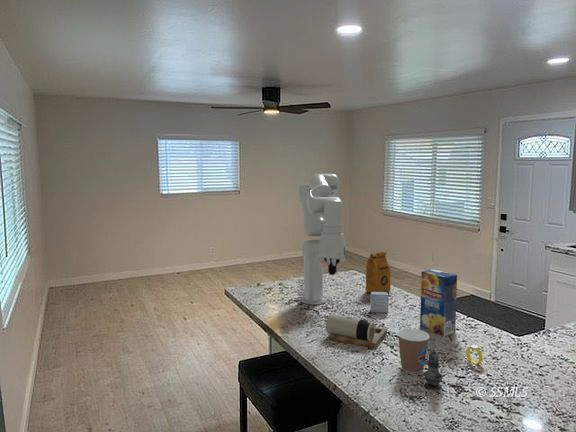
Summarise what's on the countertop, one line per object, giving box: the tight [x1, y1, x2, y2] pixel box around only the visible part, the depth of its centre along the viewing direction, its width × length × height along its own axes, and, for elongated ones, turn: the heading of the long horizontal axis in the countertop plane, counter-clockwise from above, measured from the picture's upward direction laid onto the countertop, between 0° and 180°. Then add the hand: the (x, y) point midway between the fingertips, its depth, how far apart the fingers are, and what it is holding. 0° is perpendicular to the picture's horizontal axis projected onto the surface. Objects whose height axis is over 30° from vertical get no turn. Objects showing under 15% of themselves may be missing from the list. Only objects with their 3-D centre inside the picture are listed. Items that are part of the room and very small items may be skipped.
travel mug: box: [325, 313, 376, 341], centre depth 168 cm, size 8×8×18 cm
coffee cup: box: [396, 328, 430, 374], centre depth 142 cm, size 10×10×12 cm
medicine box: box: [370, 292, 389, 313], centre depth 200 cm, size 8×4×9 cm, turn 84°
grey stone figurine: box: [422, 348, 444, 392], centre depth 131 cm, size 6×6×12 cm
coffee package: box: [365, 251, 392, 294], centre depth 230 cm, size 10×12×22 cm
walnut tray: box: [329, 326, 388, 350], centre depth 170 cm, size 18×16×2 cm
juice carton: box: [419, 268, 458, 337], centre depth 176 cm, size 12×8×24 cm, turn 31°
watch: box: [465, 344, 484, 366], centre depth 147 cm, size 6×3×6 cm, turn 23°
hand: (332, 274), depth 174 cm, fingers closed
